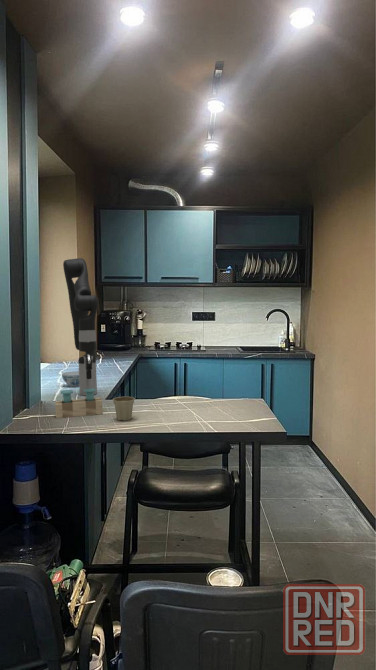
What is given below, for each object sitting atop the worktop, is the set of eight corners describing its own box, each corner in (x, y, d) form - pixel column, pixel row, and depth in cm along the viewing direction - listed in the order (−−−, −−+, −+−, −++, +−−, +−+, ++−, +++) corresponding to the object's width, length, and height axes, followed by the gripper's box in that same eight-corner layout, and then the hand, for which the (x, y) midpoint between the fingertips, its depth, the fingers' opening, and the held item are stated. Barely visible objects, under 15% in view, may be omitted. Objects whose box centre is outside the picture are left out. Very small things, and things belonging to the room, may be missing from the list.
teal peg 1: (61, 405, 201) (60, 390, 201) (73, 404, 203) (72, 389, 202) (61, 407, 196) (60, 392, 196) (73, 406, 198) (72, 391, 197)
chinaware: (91, 383, 277) (90, 371, 276) (83, 388, 262) (82, 375, 261) (67, 383, 278) (67, 371, 278) (58, 388, 263) (57, 375, 263)
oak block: (56, 414, 202) (55, 401, 201) (101, 410, 207) (100, 397, 207) (56, 418, 195) (55, 404, 195) (102, 413, 201) (102, 400, 200)
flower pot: (140, 417, 193) (139, 398, 192) (125, 423, 185) (124, 402, 184) (123, 415, 198) (123, 395, 197) (108, 420, 190) (107, 399, 190)
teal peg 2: (84, 403, 204) (83, 388, 204) (95, 402, 206) (95, 387, 205) (84, 405, 199) (84, 390, 199) (96, 404, 201) (96, 390, 200)
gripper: (78, 339, 206) (79, 377, 207) (79, 341, 193) (81, 381, 194) (95, 338, 208) (96, 376, 209) (97, 341, 195) (98, 380, 196)
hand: (89, 378), depth 201 cm, fingers closed
